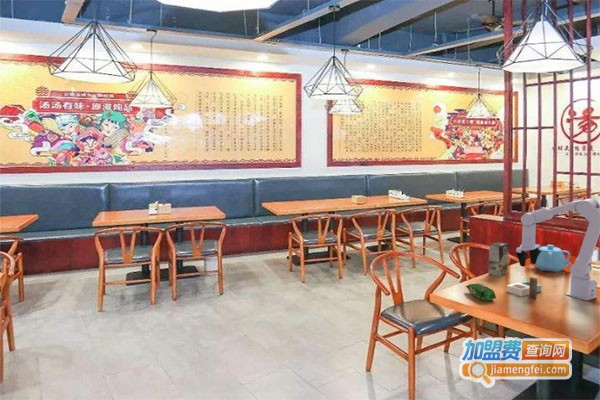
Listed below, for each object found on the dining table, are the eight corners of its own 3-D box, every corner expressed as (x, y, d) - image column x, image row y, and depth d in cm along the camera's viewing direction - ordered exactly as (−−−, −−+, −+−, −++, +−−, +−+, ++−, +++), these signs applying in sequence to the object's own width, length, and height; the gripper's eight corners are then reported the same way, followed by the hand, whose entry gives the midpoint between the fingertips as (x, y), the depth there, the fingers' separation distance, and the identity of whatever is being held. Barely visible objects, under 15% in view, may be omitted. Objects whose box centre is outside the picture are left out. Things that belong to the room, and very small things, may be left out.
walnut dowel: (538, 298, 201) (538, 278, 200) (533, 299, 200) (534, 279, 199) (532, 296, 204) (532, 277, 203) (527, 297, 203) (528, 278, 201)
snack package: (478, 290, 214) (478, 280, 213) (497, 302, 198) (498, 290, 198) (464, 292, 212) (464, 281, 212) (483, 303, 197) (483, 292, 196)
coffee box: (500, 276, 234) (500, 246, 231) (488, 273, 238) (489, 244, 236) (508, 272, 239) (509, 243, 237) (496, 270, 244) (497, 241, 242)
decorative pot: (574, 272, 236) (575, 247, 235) (546, 274, 234) (547, 249, 232) (552, 264, 252) (553, 241, 251) (526, 266, 250) (527, 242, 248)
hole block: (541, 291, 210) (541, 285, 209) (521, 296, 204) (522, 290, 203) (525, 286, 217) (526, 280, 216) (506, 291, 211) (506, 285, 210)
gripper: (531, 234, 223) (530, 261, 224) (511, 237, 216) (510, 265, 218) (544, 236, 216) (543, 264, 218) (524, 240, 210) (523, 268, 212)
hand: (527, 265), depth 218 cm, fingers open, 7 cm apart
